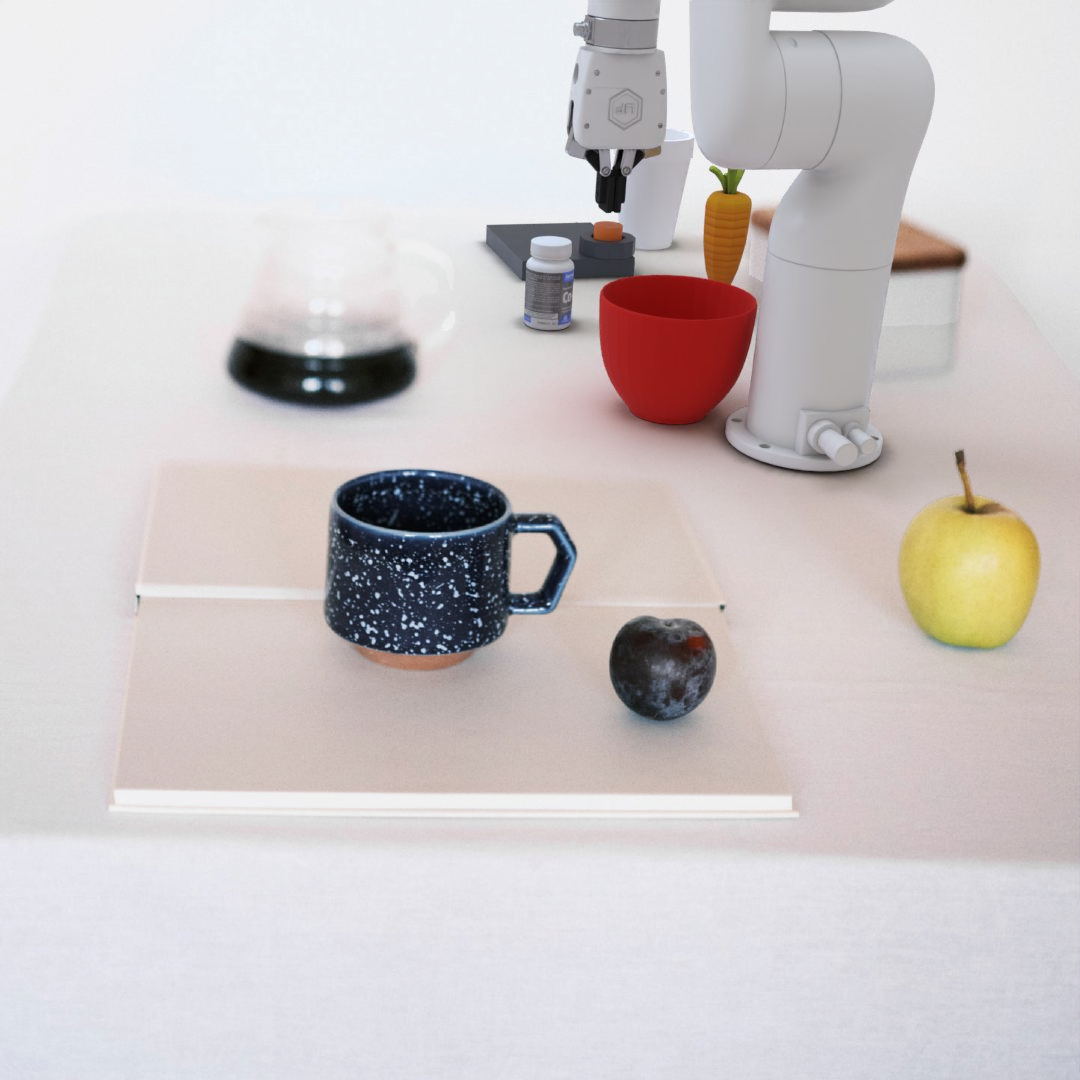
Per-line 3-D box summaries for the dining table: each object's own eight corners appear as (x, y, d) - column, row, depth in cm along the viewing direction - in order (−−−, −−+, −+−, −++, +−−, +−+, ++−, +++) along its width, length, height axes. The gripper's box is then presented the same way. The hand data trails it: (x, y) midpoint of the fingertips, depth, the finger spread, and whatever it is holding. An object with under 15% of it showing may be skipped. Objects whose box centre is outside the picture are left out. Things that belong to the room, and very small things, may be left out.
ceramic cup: (784, 392, 123) (799, 283, 118) (705, 452, 109) (718, 331, 105) (654, 362, 128) (663, 256, 124) (564, 415, 115) (571, 299, 111)
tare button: (625, 243, 153) (627, 227, 152) (598, 244, 152) (599, 228, 151) (616, 236, 155) (617, 220, 155) (589, 236, 155) (590, 221, 154)
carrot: (726, 308, 145) (742, 163, 138) (686, 298, 147) (700, 155, 141) (750, 298, 148) (767, 157, 142) (710, 289, 151) (725, 149, 144)
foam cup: (593, 235, 169) (601, 127, 164) (659, 231, 173) (668, 124, 167) (630, 255, 162) (639, 142, 156) (698, 250, 165) (709, 140, 160)
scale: (639, 278, 153) (642, 242, 152) (523, 282, 150) (524, 246, 148) (593, 240, 168) (596, 207, 166) (485, 243, 164) (486, 209, 162)
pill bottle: (570, 332, 135) (575, 248, 131) (522, 330, 135) (526, 245, 131) (571, 317, 139) (575, 235, 135) (524, 315, 139) (528, 233, 135)
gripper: (564, 39, 139) (554, 220, 147) (701, 41, 143) (684, 217, 151) (543, 29, 145) (535, 203, 153) (675, 31, 149) (660, 201, 157)
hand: (609, 209), depth 152 cm, fingers closed
